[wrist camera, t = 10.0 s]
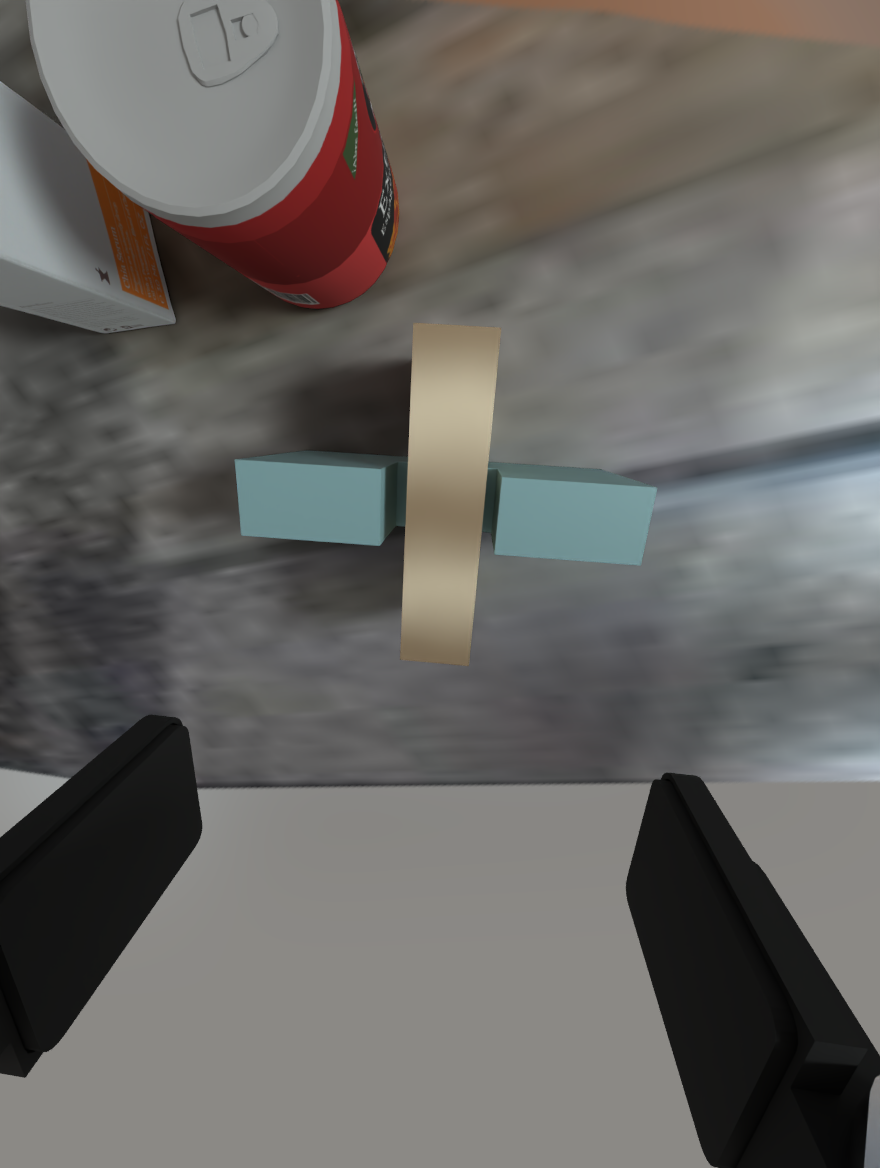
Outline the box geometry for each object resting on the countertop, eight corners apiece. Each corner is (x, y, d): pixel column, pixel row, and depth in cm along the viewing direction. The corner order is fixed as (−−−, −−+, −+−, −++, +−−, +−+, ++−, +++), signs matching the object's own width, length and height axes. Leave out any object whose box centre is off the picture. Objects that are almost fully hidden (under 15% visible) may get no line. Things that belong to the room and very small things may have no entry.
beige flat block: (433, 357, 23) (413, 323, 16) (492, 360, 23) (500, 327, 15) (420, 596, 27) (400, 659, 20) (470, 600, 27) (468, 665, 20)
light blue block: (600, 469, 24) (657, 487, 17) (591, 524, 25) (641, 565, 18) (307, 450, 25) (234, 459, 18) (309, 504, 26) (241, 535, 18)
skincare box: (181, 325, 24) (-90, 228, 12) (106, 335, 24) (-224, 252, 13) (145, 181, 22) (-217, -90, 10) (64, 196, 22) (-369, -49, 11)
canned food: (429, 262, 22) (388, 112, 11) (290, 344, 23) (143, 277, 13) (353, 78, 20) (220, -308, 9) (207, 181, 21) (-45, -53, 11)
